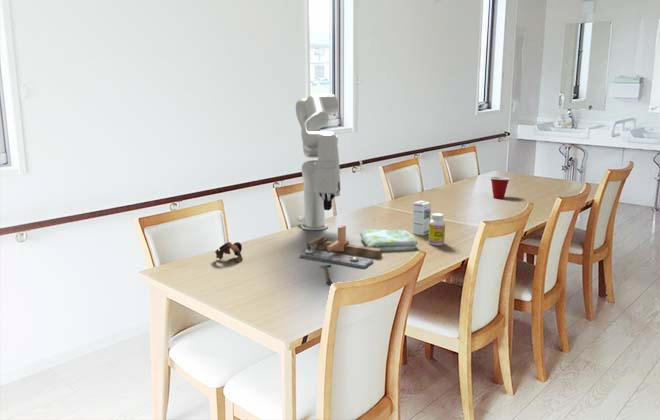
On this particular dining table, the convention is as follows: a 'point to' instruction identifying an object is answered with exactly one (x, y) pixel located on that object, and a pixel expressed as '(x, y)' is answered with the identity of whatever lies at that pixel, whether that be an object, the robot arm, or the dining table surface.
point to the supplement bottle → (436, 229)
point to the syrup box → (421, 217)
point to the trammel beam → (346, 248)
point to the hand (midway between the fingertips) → (327, 209)
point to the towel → (388, 239)
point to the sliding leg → (339, 240)
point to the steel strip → (336, 258)
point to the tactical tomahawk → (327, 274)
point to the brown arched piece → (226, 249)
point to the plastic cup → (499, 186)
